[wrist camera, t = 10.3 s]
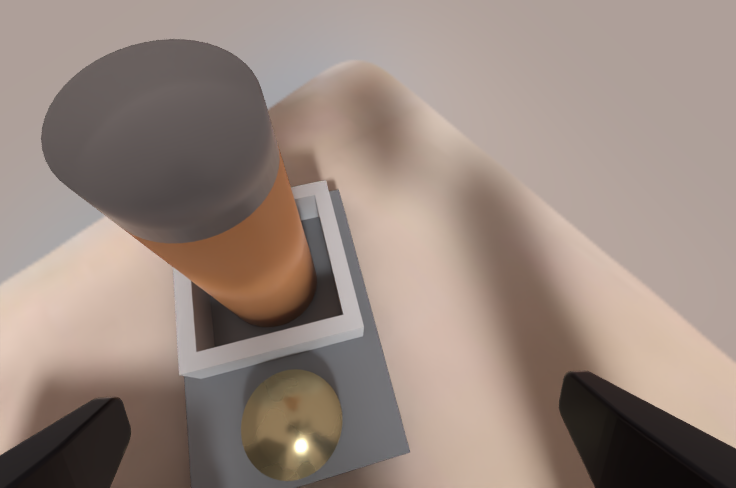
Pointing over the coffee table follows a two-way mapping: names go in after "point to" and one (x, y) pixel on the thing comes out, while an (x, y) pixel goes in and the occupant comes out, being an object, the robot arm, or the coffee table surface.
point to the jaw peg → (187, 171)
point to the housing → (289, 374)
